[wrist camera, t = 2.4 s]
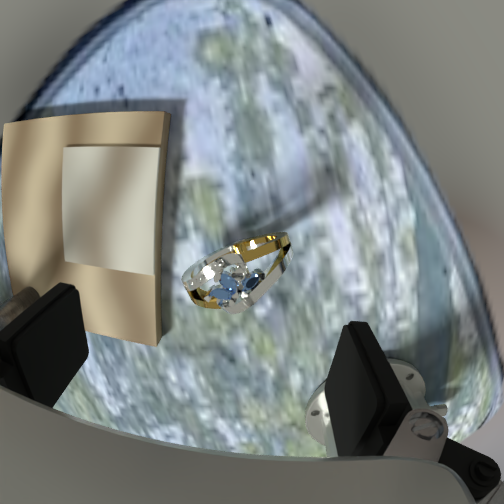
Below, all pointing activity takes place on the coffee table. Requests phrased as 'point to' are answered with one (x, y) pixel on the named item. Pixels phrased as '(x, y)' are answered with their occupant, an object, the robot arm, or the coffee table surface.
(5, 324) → the keeper hook
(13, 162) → the board
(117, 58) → the coffee table surface
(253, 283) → the ring
